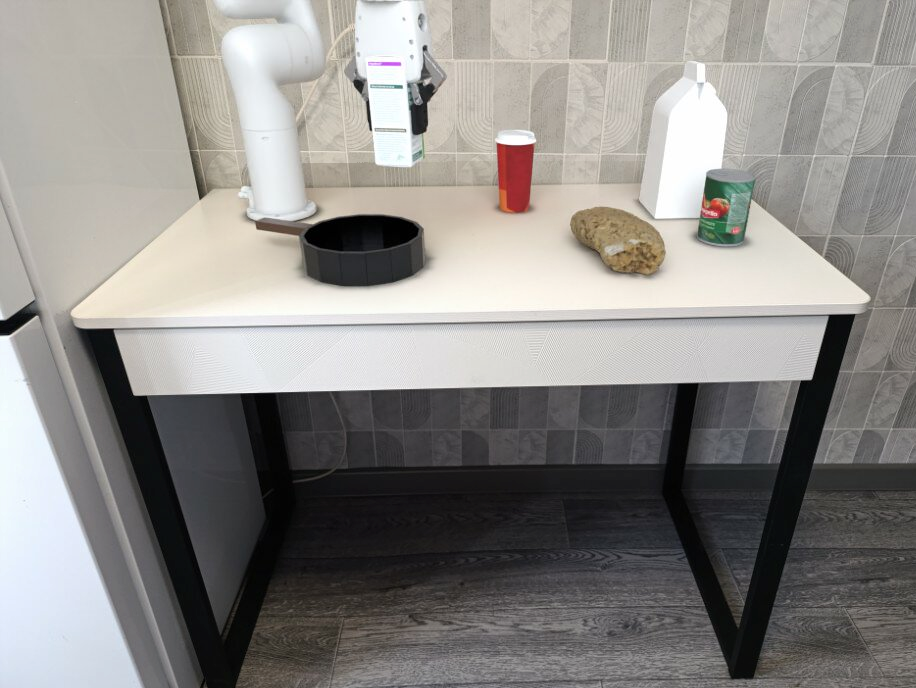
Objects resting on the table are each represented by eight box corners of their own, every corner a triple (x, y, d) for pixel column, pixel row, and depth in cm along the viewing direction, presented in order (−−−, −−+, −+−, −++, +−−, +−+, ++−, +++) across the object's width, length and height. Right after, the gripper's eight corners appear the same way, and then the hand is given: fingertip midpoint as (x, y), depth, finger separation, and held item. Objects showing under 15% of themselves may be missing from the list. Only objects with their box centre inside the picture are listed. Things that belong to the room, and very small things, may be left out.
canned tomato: (752, 238, 119) (764, 174, 114) (730, 250, 114) (742, 183, 109) (710, 228, 124) (720, 166, 118) (687, 239, 119) (697, 174, 113)
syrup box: (412, 168, 98) (406, 56, 91) (373, 165, 100) (364, 54, 92) (425, 159, 103) (420, 52, 96) (387, 156, 104) (380, 51, 97)
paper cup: (541, 206, 135) (544, 131, 128) (521, 216, 129) (522, 138, 122) (507, 200, 139) (508, 127, 132) (486, 209, 133) (486, 133, 126)
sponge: (671, 283, 105) (644, 217, 120) (671, 239, 100) (643, 176, 114) (585, 298, 106) (569, 231, 121) (580, 255, 101) (564, 190, 115)
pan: (225, 265, 107) (219, 234, 104) (298, 230, 122) (294, 202, 119) (387, 294, 98) (384, 260, 95) (444, 252, 113) (443, 222, 110)
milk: (638, 200, 139) (654, 58, 126) (695, 199, 140) (716, 58, 127) (654, 218, 129) (673, 66, 116) (715, 217, 130) (740, 66, 117)
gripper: (461, -12, 90) (464, 131, 99) (348, -13, 96) (361, 122, 105) (434, -11, 84) (440, 141, 93) (316, -13, 90) (332, 131, 99)
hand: (398, 130), depth 99 cm, fingers closed on syrup box, 6 cm apart
